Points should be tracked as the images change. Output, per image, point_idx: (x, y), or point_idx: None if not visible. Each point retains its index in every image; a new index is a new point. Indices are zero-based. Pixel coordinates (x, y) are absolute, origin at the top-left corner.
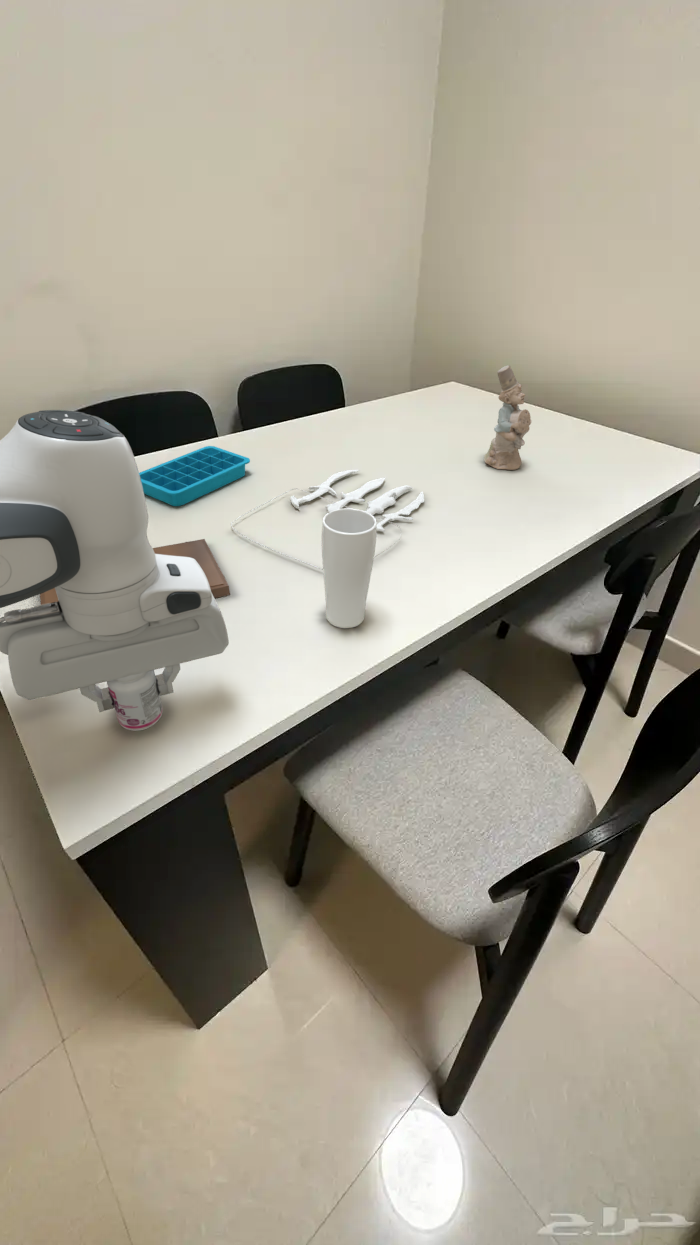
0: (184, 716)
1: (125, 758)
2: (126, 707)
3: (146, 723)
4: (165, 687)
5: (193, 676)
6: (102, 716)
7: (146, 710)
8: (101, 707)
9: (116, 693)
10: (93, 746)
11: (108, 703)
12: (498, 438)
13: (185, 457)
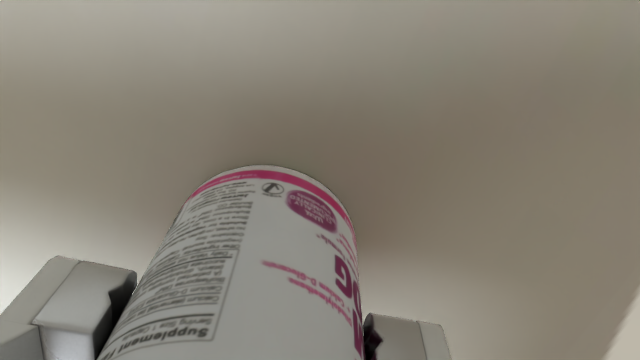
0: (102, 141)
1: (414, 63)
2: (321, 287)
3: (261, 179)
4: (61, 304)
5: None
6: (387, 299)
7: (231, 226)
8: (434, 346)
9: None
10: (483, 197)
11: (397, 353)
12: None
13: None
